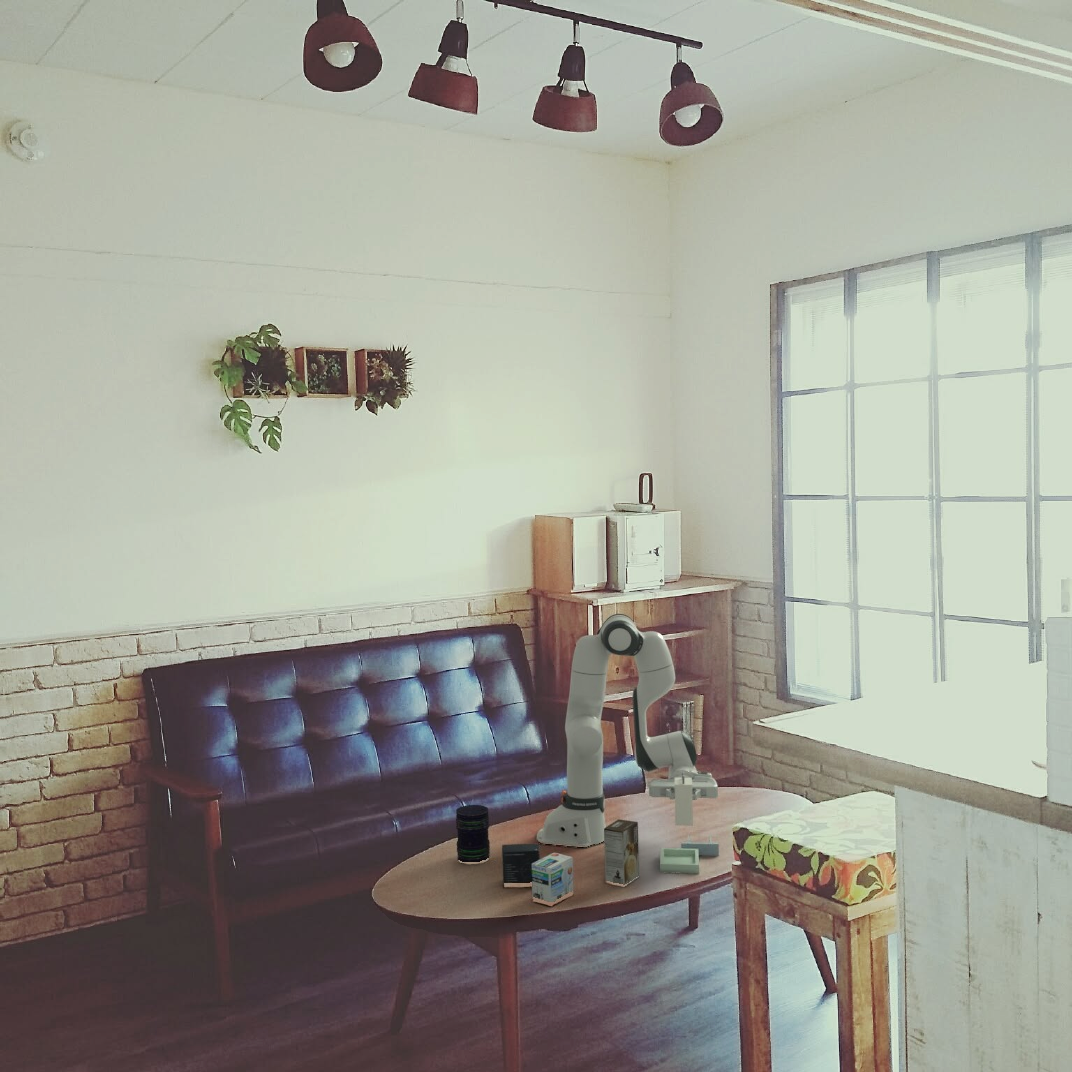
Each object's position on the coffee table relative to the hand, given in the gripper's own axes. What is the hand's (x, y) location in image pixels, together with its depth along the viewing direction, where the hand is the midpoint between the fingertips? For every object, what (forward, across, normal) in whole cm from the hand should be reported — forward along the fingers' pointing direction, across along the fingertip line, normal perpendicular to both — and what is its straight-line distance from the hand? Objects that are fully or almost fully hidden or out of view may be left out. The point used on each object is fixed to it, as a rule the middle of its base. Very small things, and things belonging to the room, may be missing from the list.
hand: (683, 797), depth 326 cm
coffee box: (+14, -17, +20) cm, 30 cm away
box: (+18, -46, +20) cm, 53 cm away
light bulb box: (+28, -36, +20) cm, 49 cm away
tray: (+1, -1, +20) cm, 20 cm away
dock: (-12, +5, +20) cm, 24 cm away
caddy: (-1, 0, +8) cm, 8 cm away
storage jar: (-1, -62, +20) cm, 66 cm away
